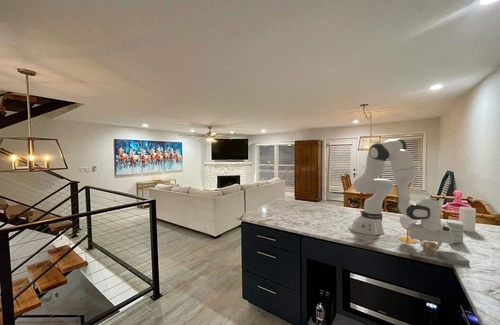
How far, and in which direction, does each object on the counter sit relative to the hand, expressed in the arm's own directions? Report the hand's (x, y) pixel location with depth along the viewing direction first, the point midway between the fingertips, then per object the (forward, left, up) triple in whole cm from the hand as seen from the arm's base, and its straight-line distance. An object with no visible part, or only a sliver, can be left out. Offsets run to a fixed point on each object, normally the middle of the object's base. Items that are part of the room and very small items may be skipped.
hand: (429, 247), depth 123 cm
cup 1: (-8, +12, -2) cm, 15 cm away
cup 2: (+36, +49, -2) cm, 61 cm away
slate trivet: (+7, -9, -2) cm, 12 cm away
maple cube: (0, 0, -2) cm, 2 cm away
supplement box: (+19, +22, -2) cm, 29 cm away
